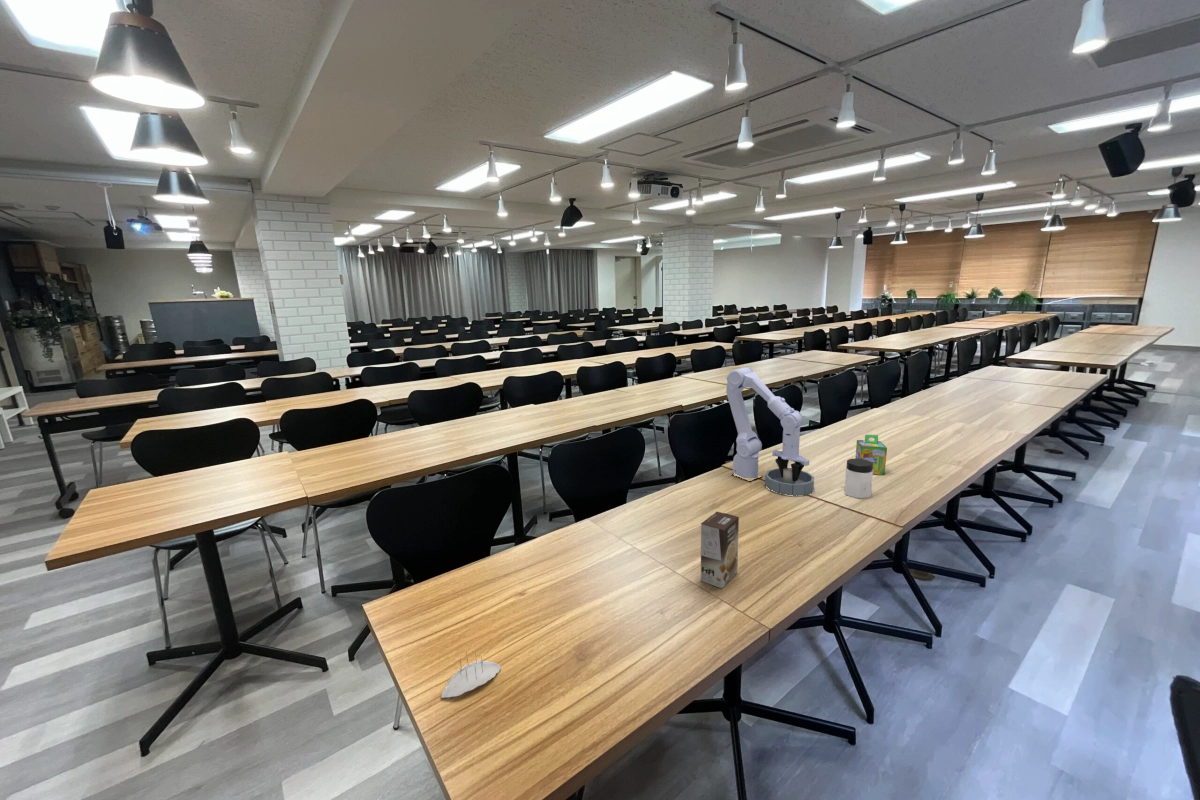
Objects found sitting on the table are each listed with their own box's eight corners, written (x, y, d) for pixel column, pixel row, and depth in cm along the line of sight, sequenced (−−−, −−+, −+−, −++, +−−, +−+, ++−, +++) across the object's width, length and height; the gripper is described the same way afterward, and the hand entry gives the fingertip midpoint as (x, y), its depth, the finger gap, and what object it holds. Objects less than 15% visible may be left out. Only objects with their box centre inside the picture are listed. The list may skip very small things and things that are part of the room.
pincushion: (447, 710, 86) (443, 684, 84) (436, 689, 91) (433, 664, 89) (507, 677, 93) (505, 653, 91) (494, 659, 97) (492, 636, 96)
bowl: (756, 485, 179) (756, 474, 178) (784, 475, 187) (785, 465, 186) (793, 500, 165) (794, 488, 164) (822, 489, 173) (823, 477, 172)
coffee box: (723, 589, 117) (723, 530, 114) (699, 580, 121) (699, 523, 118) (738, 572, 124) (739, 516, 120) (715, 564, 128) (716, 510, 124)
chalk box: (859, 474, 186) (861, 438, 183) (854, 466, 195) (856, 431, 191) (885, 475, 183) (888, 439, 180) (879, 467, 192) (882, 432, 189)
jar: (853, 499, 164) (855, 467, 161) (838, 490, 171) (840, 459, 169) (877, 497, 165) (879, 464, 162) (861, 488, 173) (863, 457, 170)
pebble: (780, 482, 177) (780, 469, 176) (787, 479, 179) (788, 466, 178) (790, 485, 173) (791, 472, 172) (798, 482, 175) (798, 470, 174)
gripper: (767, 441, 177) (766, 475, 180) (801, 451, 165) (799, 487, 167) (779, 438, 180) (778, 471, 183) (813, 447, 168) (811, 482, 171)
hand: (789, 478), depth 176 cm, fingers closed on pebble, 4 cm apart
